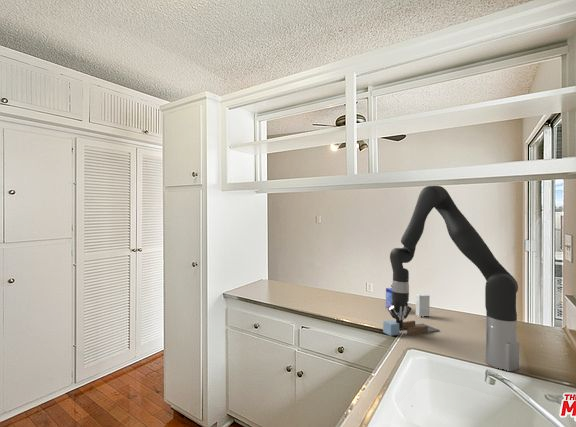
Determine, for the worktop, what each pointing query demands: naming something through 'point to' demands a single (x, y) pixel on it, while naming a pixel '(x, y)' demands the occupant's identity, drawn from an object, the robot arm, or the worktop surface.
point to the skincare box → (422, 304)
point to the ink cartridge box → (389, 297)
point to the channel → (414, 328)
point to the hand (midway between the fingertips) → (399, 327)
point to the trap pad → (430, 329)
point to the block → (391, 327)
